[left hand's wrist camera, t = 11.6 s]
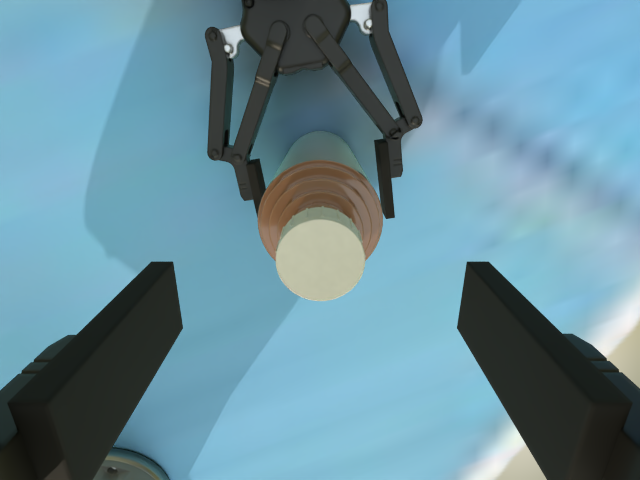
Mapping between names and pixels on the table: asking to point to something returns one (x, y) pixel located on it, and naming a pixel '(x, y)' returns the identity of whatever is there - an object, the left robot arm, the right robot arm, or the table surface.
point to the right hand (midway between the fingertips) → (327, 222)
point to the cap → (320, 254)
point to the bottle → (320, 189)
